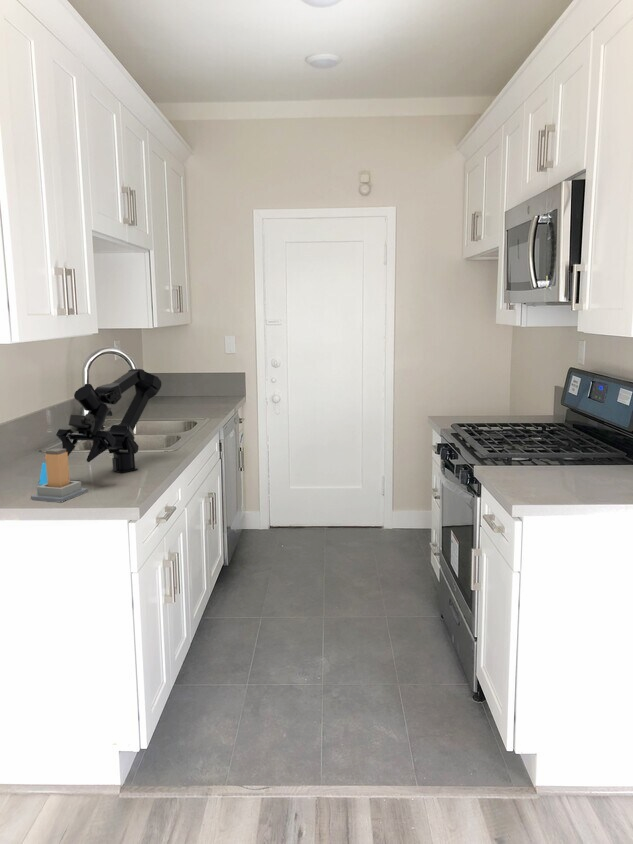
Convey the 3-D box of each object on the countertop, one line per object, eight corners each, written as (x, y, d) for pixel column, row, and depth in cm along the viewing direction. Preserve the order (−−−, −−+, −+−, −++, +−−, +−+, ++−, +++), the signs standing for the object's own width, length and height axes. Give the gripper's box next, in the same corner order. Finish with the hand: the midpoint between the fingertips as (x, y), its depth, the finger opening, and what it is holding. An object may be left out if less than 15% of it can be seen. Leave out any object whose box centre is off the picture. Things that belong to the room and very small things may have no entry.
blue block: (65, 502, 214) (67, 474, 230) (62, 482, 211) (65, 456, 227) (41, 504, 212) (45, 476, 228) (39, 484, 209) (43, 457, 225)
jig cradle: (58, 489, 212) (57, 478, 211) (88, 491, 208) (87, 480, 208) (30, 499, 201) (29, 488, 200) (61, 502, 197) (60, 490, 196)
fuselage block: (58, 490, 207) (54, 448, 205) (70, 490, 206) (67, 448, 203) (48, 493, 203) (44, 450, 201) (60, 494, 201) (57, 451, 199)
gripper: (57, 403, 215) (35, 444, 207) (107, 405, 209) (87, 447, 201) (75, 423, 224) (55, 464, 216) (124, 426, 218) (105, 467, 210)
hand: (75, 460), depth 210 cm, fingers open, 9 cm apart
